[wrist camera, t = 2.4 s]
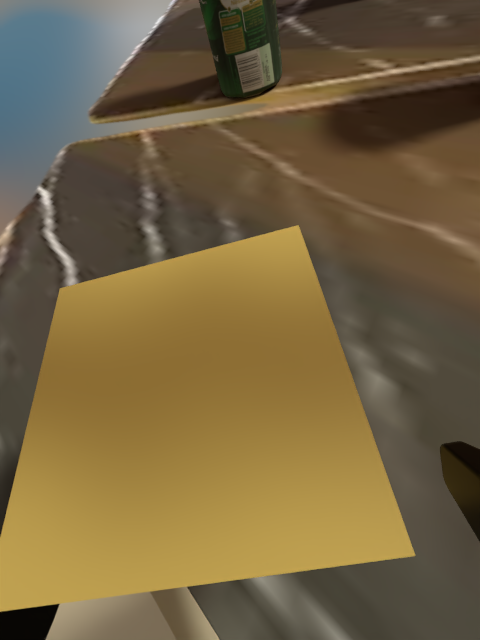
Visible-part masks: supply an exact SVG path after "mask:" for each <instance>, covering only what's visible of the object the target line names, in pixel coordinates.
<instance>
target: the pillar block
mask: <svg viewBox="0 0 480 640" xmlns="http://www.w3.org/2000/svg"><path fill="white" fill-rule="evenodd" d="M410 556H415V553H414V551H413V548H412V545H411V542H410V539H409V536H408V534H407V531H406V528H405V525H404V522H403V519H402V517H401V514H400V511H399V508H398V505H397V502H396V500H395V497H394V494H393V491H392V488H391V485H390V483H389V480H388V477H387V474H386V471H385V469H384V466H383V463H382V460H381V457H380V454H379V452H378V449H377V446H376V443H375V440H374V437H373V435H372V432H371V429H370V426H369V423H368V420H367V418H366V415H365V412H364V409H363V406H362V403H361V401H360V398H359V395H358V392H357V389H356V386H355V384H354V381H353V378H352V375H351V372H350V370H349V367H348V364H347V361H346V358H345V355H344V353H343V350H342V347H341V344H340V341H339V338H338V336H337V333H336V330H335V327H334V324H333V321H332V319H331V316H330V313H329V310H328V307H327V304H326V302H325V299H324V296H323V293H322V290H321V287H320V285H319V282H318V279H317V276H316V273H315V271H314V268H313V265H312V262H311V259H310V256H309V254H308V251H307V248H306V245H305V242H304V239H303V237H302V234H301V231H300V228H299V225H297V226H293V227H290V228H286V229H282V230H278V231H275V232H271V233H267V234H263V235H259V236H256V237H252V238H248V239H244V240H241V241H237V242H233V243H229V244H226V245H222V246H218V247H214V248H211V249H207V250H203V251H199V252H196V253H192V254H188V255H184V256H181V257H177V258H173V259H169V260H166V261H162V262H158V263H154V264H151V265H147V266H143V267H139V268H135V269H132V270H128V271H124V272H120V273H117V274H113V275H109V276H105V277H102V278H98V279H94V280H90V281H87V282H83V283H79V284H75V285H72V286H68V287H64V288H60V291H59V295H58V299H57V303H56V308H55V312H54V316H53V320H52V324H51V328H50V333H49V337H48V341H47V345H46V349H45V353H44V358H43V362H42V366H41V370H40V374H39V378H38V383H37V387H36V391H35V395H34V399H33V403H32V408H31V412H30V416H29V420H28V424H27V428H26V433H25V437H24V441H23V445H22V449H21V453H20V458H19V462H18V466H17V470H16V474H15V478H14V482H13V487H12V491H11V495H10V499H9V503H8V507H7V512H6V516H5V520H4V524H3V528H2V532H1V537H0V612H2V611H9V610H16V609H24V608H31V607H39V606H46V605H54V604H61V603H68V602H76V601H83V600H91V599H98V598H106V597H113V596H120V595H128V594H135V593H143V592H150V591H158V590H165V589H172V588H180V587H187V586H195V585H202V584H210V583H217V582H225V581H232V580H239V579H247V578H254V577H262V576H269V575H277V574H284V573H291V572H299V571H306V570H314V569H321V568H329V567H336V566H343V565H351V564H358V563H366V562H373V561H381V560H388V559H395V558H403V557H410Z"/></svg>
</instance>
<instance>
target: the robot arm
mask: <svg viewBox="0 0 480 640" xmlns="http://www.w3.org/2000/svg"><path fill="white" fill-rule="evenodd" d="M440 455H441V463H442V471H443V477H444V480H445V483H446V485H447V487H448V489H449V491H450V492H451V494H452V496H453V498H454V499H455V501H456V503H457V504H458V506H459V508H460V509H461V511H462V513H463V514H464V516H465V518H466V519H467V521H468V523H469V524H470V526H471V528H472V530H473V531H474V533H475V535H476V536H477V538H478V540H479V541H480V449H478V448H476V447H473V446H471V445H469V444H467V443H464V442H461V441H457V442H451V443H445V444H442V445H441V447H440ZM59 605H60V604H54V605H46V606H39V607H31V608H24V609H16V610H9V611H2V612H0V640H46V638H47V635H48V633H49V631H50V628H51V626H52V623H53V621H54V618H55V615H56V613H57V610H58V607H59Z"/></svg>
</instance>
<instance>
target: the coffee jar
mask: <svg viewBox="0 0 480 640" xmlns="http://www.w3.org/2000/svg"><path fill="white" fill-rule="evenodd" d="M199 3H200V7H201V11H202V15H203V18H204V22H205V26H206V30H207V35H208V38H209V42H210V46H211V50H212V54H213V59H214V63H215V67H216V71H217V75H218V80H219V84H220V87H221V90H222V92H223V94H224V95H225V96H227V97H243V98H246V97H251V96H254V95H258V94H261V93H262V92H263V91H265V90H267V89H268V88H270V87H272V86H274V85H276V84H277V83H278V82H279V80H280V78H281V74H282V62H281V51H280V40H279V30H278V21H277V11H276V0H199Z"/></svg>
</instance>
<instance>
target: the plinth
mask: <svg viewBox="0 0 480 640" xmlns="http://www.w3.org/2000/svg"><path fill="white" fill-rule="evenodd" d="M46 640H219V638H218V636H217V635H216V633H215V631H214V630H213V628H212V627H211V625H210V623H209V622H208V620H207V619H206V617H205V615H204V614H203V612H202V611H201V609H200V607H199V606H198V604H197V603H196V601H195V599H194V598H193V596H192V595H191V593H190V591H189V590H188V588H187V587H180V588H172V589H165V590H158V591H150V592H143V593H135V594H128V595H120V596H113V597H106V598H98V599H91V600H83V601H76V602H68V603H61V604H60V605H59V607H58V610H57V613H56V615H55V618H54V621H53V623H52V626H51V628H50V631H49V633H48V635H47V638H46Z"/></svg>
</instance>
